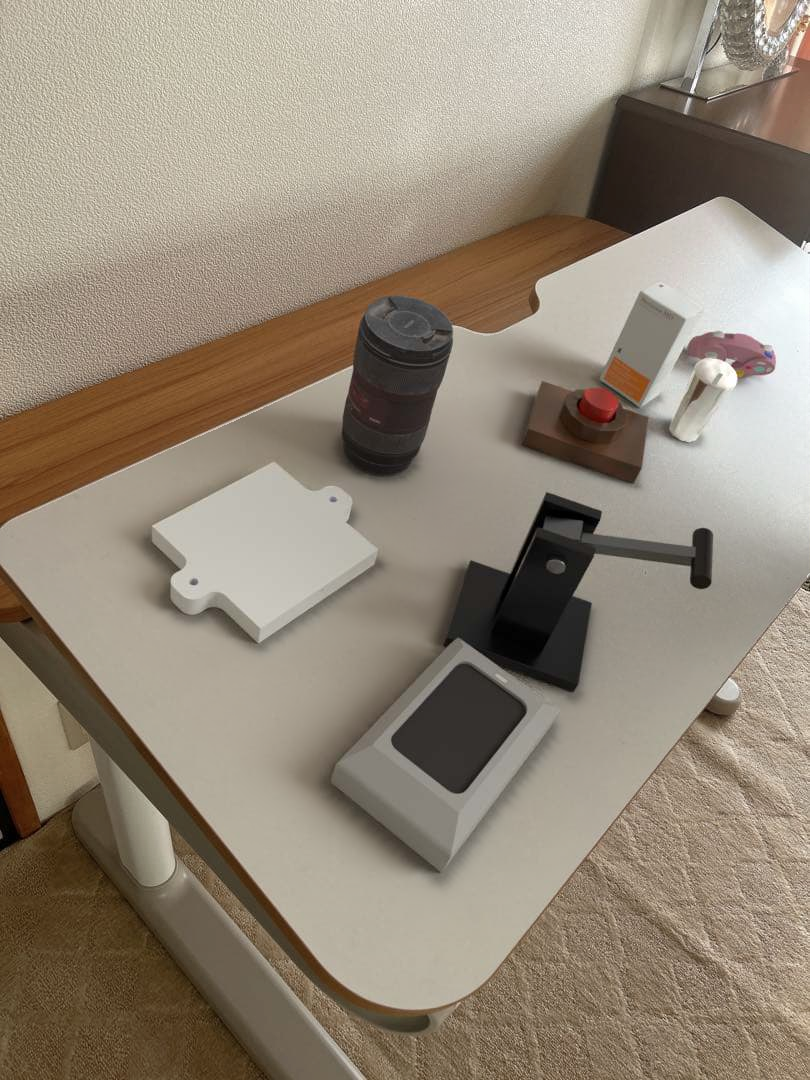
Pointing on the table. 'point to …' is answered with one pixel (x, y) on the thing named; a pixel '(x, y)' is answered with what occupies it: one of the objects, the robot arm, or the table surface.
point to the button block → (586, 433)
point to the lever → (646, 548)
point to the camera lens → (394, 382)
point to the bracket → (532, 601)
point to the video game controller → (734, 352)
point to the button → (598, 405)
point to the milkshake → (702, 398)
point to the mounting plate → (262, 550)
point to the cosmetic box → (650, 343)
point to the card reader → (444, 751)
